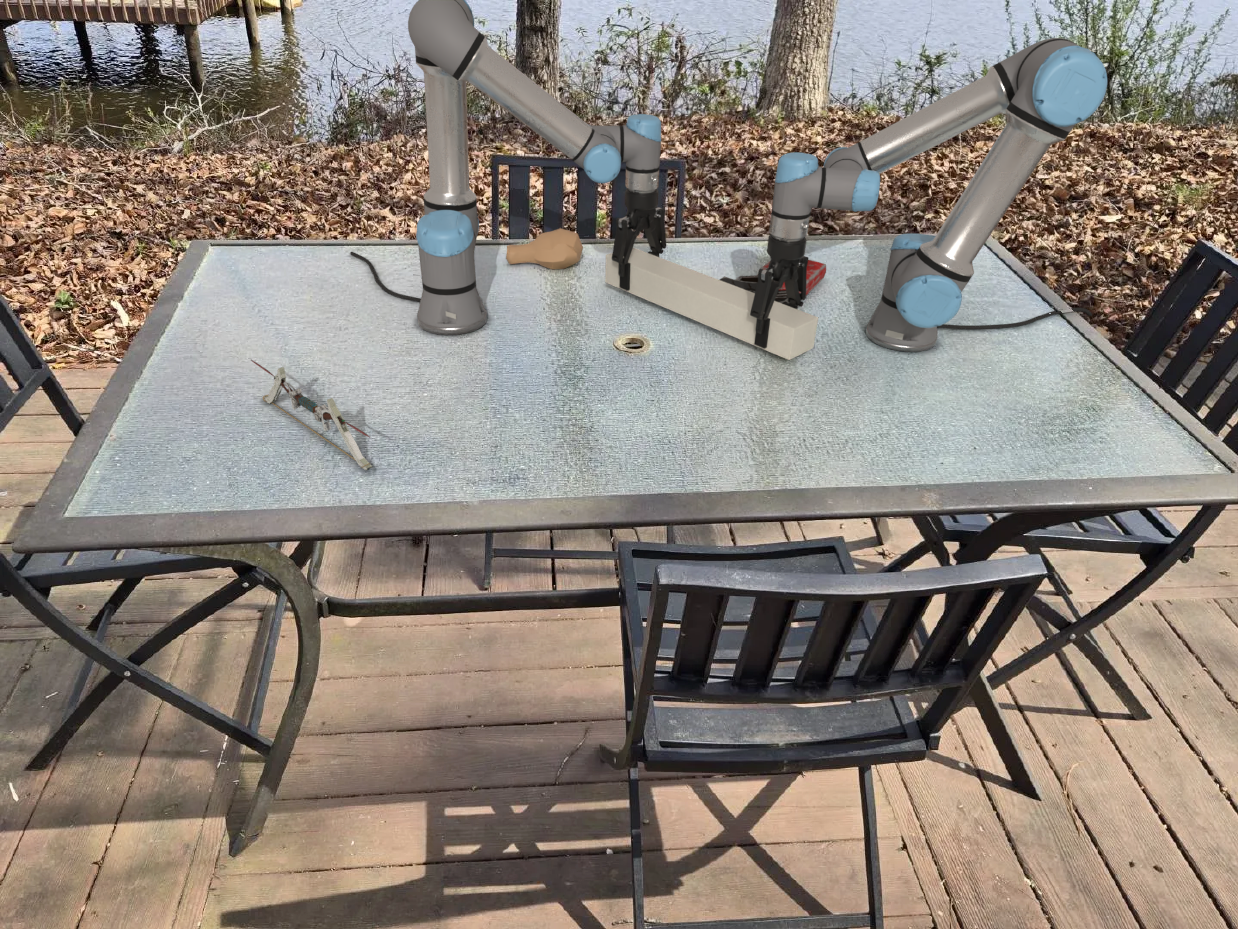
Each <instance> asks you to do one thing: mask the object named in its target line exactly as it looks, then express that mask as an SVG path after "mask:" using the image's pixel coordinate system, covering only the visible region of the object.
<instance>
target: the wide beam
mask: <svg viewBox="0 0 1238 929" xmlns="http://www.w3.org/2000/svg"><path fill="white" fill-rule="evenodd" d="M612 253H613V252H610V253H606V254H605V267H604V268H605V270H604V271H605V275H604V282H605V284H608V285H610V286H613V287H615V288H617V289H619V290H622V291H625V292H627V293H630V294H631V295H634V296H636V297H639V298H641V299H643V300H646V301H648V302H650V303H653V304H654V305H657V306H659V307H663V308H665V309H667V310H669V311H672V312H674V313H676V314H679V315H681V316H684V317H685V318H688V319H690V320H694V321H695V322H698V323H700V324H702V325H704V326H707V327H709V328H712V329H715V330H717V331H719V332H721V333H724V334H726V335H729V336H731V337H734V338H736V339H737V340H738V339H739V340H740V341H743V342H745V343H747V344H750V345H753V346H755V347H757V348H758V349H759V348H760V349H762V350H764V351H767V352H769V353H771V354H773V355H776V356H778V357H780V358H783V359H785V360H788V361H790V360H793V359H794V358H796V357H798V356H801V355H803V354H805V353H806V352H808V351H810V350H813V349H814V348H815V341H816V334H817V328H818V324H819V317H818V316H817V315H816V316H815V315H813V314H812V313H811V314H810V313H807V312H805V311H802V310H800V309H795V308H792V307H789V306H787V305H784V304H782V303H779V302H776V301H774V303H773V306H772V308H771V311H770V313H769V316H768V318H770V326H769V334H768V342H767V348H765V349H764V348H762V347H759V346H757V345H755V344H754V343H755V334H756V331H755V329H756V321H757V318H755V317H753V316H750V312H751V308H752V304H753V300H754V295H755V293H752V292H750V291H747V290H744V289H742V288H739V287H737V286H734V285H731V284H729V283H726V282H723V281H721V280H720V279H718V278H715V277H713V276H710V275H707V274H705V273H702V272H699V271H697V270H694V269H691V268H688V267H686V266H683V265H681V264H679V263H677V262H673V261H671V260H667V259H665V258H663V257H660V256H659V257H657V256H654V255H652V254H649V253H648V251H647V252H646V251H643V250H642V249H638V248H636V247H633V249H632V252H631V254H630V257H629V260H628V263H631V265H630V290H628V291H627V290H625V289H622V288H620V287H619V284H620V276H619V274H618V265H619V264H618V262H615V261H613V260H612ZM623 258H624V256H623Z"/></svg>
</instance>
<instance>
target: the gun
mask: <svg viewBox="0 0 1238 929" xmlns="http://www.w3.org/2000/svg"><path fill="white" fill-rule="evenodd" d="M769 263H770V260H768V261H767V262H766V263H765V264H763V265H762V266H761V267H760V268H759V269H764V270H765V269H767V268H768V266H769ZM826 273H827V264H826V263H823V262H820V261H816V260H812V259H808V264H807V275H806V297H807V296H808V295H809V294H810V293H811V292H812V291H813V290H814V289H815V287H817V285H818V284H820V283H821V282H822V280H823V279H824V278H825V276H826ZM719 280H721V281H723V282H726V283H729V284H731V285H734V286H737V287H739V288H742V289H744V290H747V291H750V292H752V293H755V291H756V287H757V283H758V274H756V275H753V274H752V275H751V274H750V275H740V276H738V277H737V278H735V279H734V278H731V277H727V276H722V277H720V279H719ZM772 282H775V283H778V282H776V281H774V280H773V279H772ZM799 293H801V292H799ZM775 301H776V302H779V303H782V304H784V305H785V304H786V303H790V302H788V299H787V294H786V288H785V283H783V286H782V288H780V289H779V290H778V293H777V295H776V298H775Z"/></svg>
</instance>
